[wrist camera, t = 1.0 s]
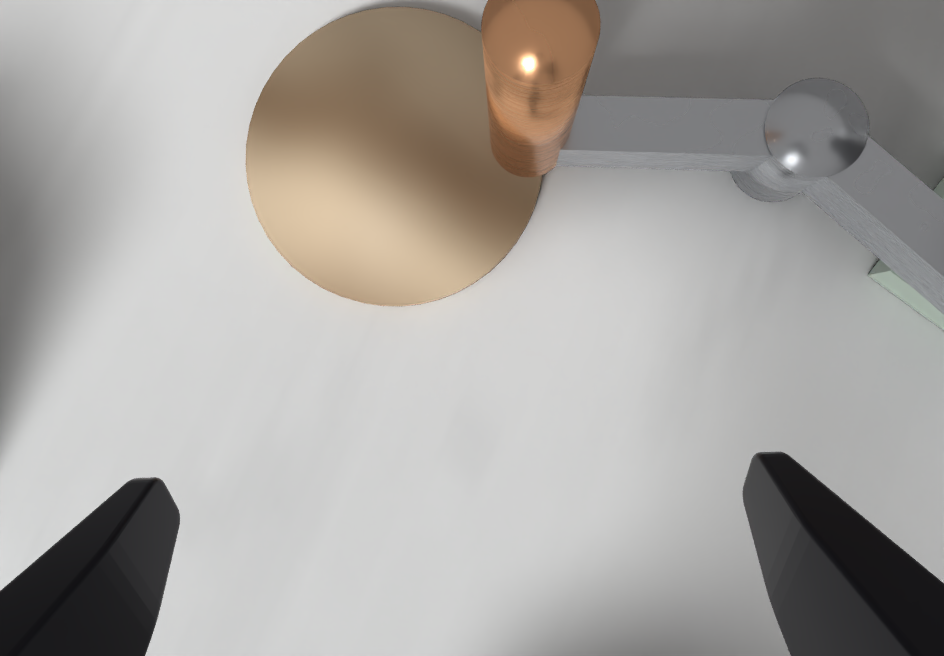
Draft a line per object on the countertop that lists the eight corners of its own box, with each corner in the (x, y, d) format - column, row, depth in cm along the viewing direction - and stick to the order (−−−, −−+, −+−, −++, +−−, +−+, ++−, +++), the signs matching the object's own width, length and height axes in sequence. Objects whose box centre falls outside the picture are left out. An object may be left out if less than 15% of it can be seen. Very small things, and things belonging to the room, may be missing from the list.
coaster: (507, 334, 21) (507, 334, 20) (224, 271, 22) (216, 269, 21) (571, 46, 21) (573, 37, 21) (288, -9, 22) (282, -18, 21)
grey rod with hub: (476, 155, 21) (456, 31, 13) (633, -17, 21) (716, -255, 13) (973, 600, 20) (1309, 784, 11) (1143, 420, 20) (1608, 475, 11)
